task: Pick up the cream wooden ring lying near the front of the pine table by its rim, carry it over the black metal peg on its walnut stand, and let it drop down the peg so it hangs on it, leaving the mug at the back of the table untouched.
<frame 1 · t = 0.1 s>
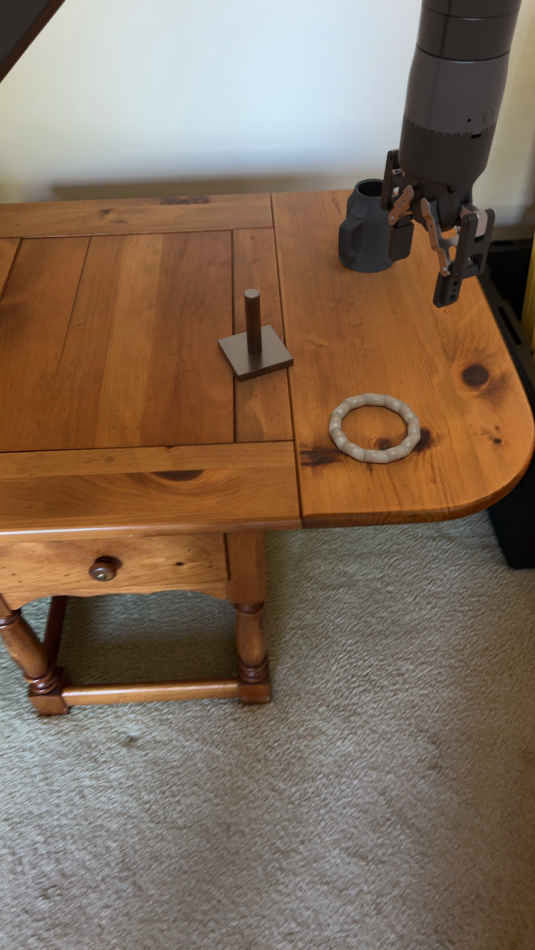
hand: (420, 280, 66), 21 cm above the table, tool pointing down, fingers open, 8 cm apart
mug: (361, 261, 104), on the table
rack: (255, 355, 90), on the table
ring: (374, 426, 80), point 1 cm above the table
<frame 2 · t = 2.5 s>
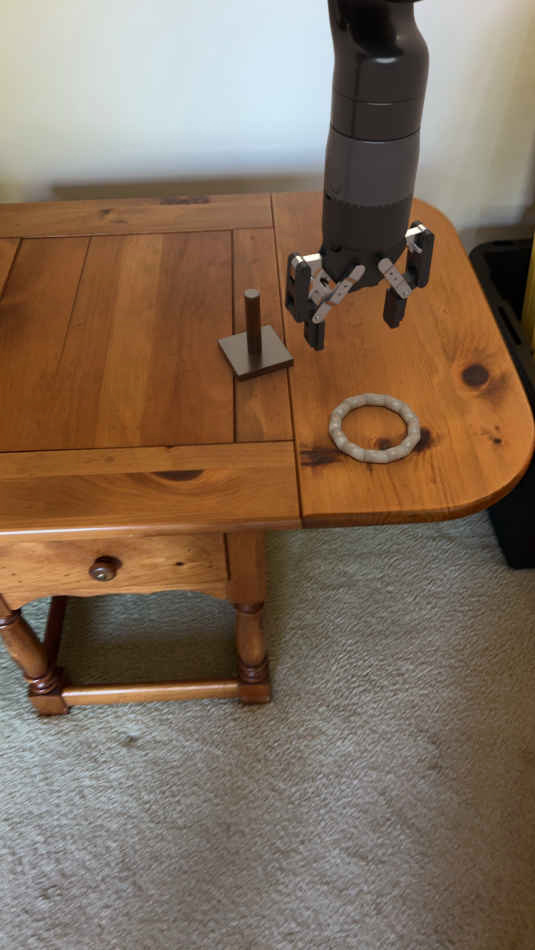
hand: (353, 334, 67), 17 cm above the table, tool pointing down, fingers open, 8 cm apart
nothing on the table moved.
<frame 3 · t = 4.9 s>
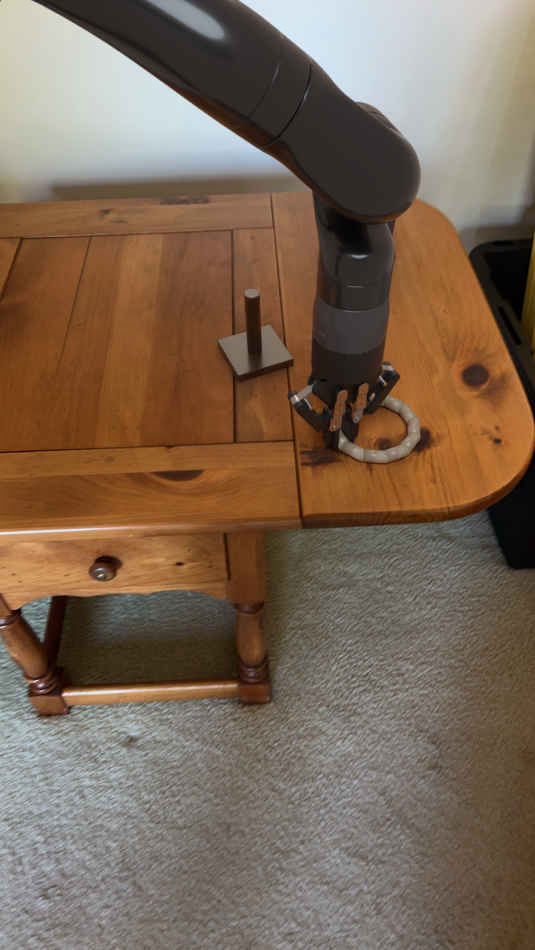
hand: (339, 441, 80), 0 cm above the table, tool pointing down, fingers closed on ring, 1 cm apart
ring: (374, 426, 80), point 1 cm above the table, touching gripper
everything else where it was.
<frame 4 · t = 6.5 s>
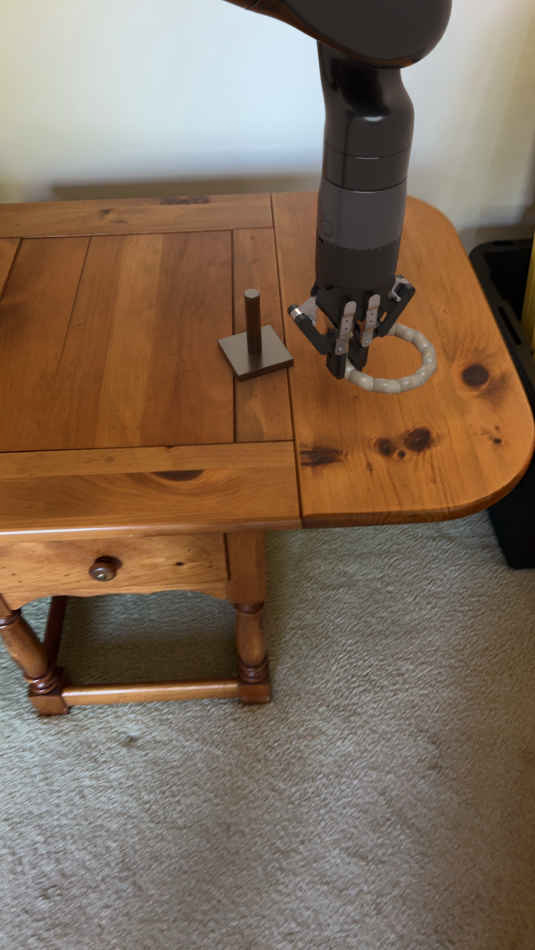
hand: (345, 371, 71), 12 cm above the table, tool pointing down, fingers closed on ring, 1 cm apart
ring: (384, 356, 72), point 12 cm above the table, touching gripper
everything else where it was.
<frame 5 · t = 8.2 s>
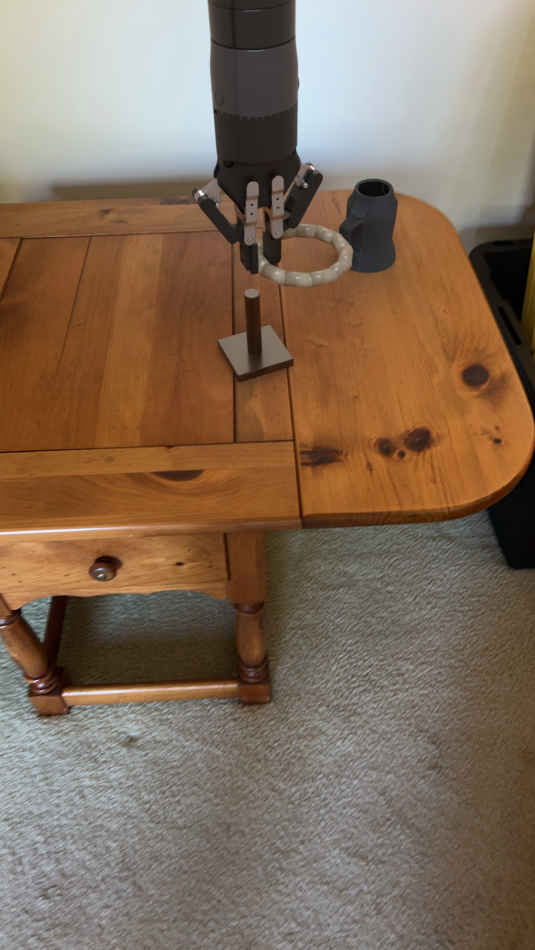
hand: (260, 267, 71), 19 cm above the table, tool pointing down, fingers closed on ring, 1 cm apart
ring: (301, 254, 72), point 19 cm above the table, touching gripper
everything else where it was.
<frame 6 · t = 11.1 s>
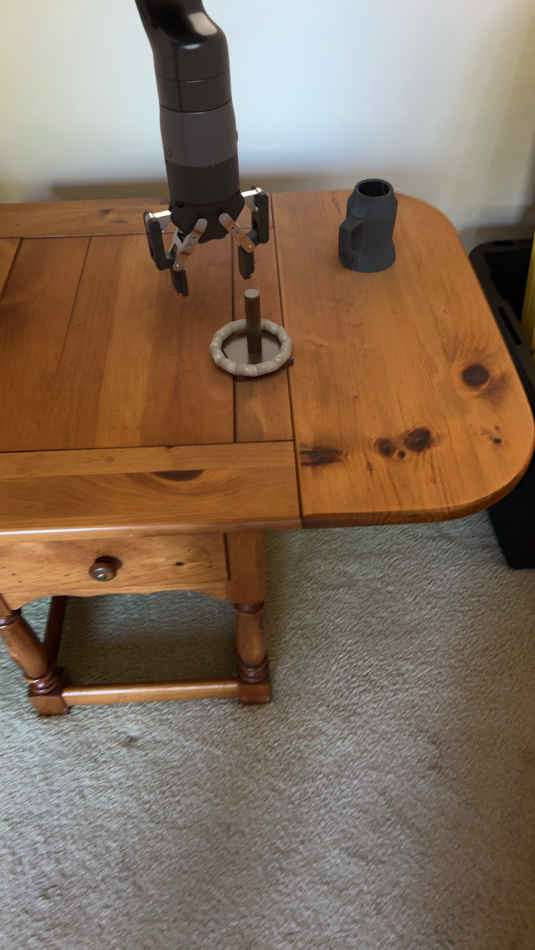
hand: (214, 284, 79), 13 cm above the table, tool pointing down, fingers open, 7 cm apart
ring: (251, 346, 89), point 2 cm above the table, touching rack
everything else where it was.
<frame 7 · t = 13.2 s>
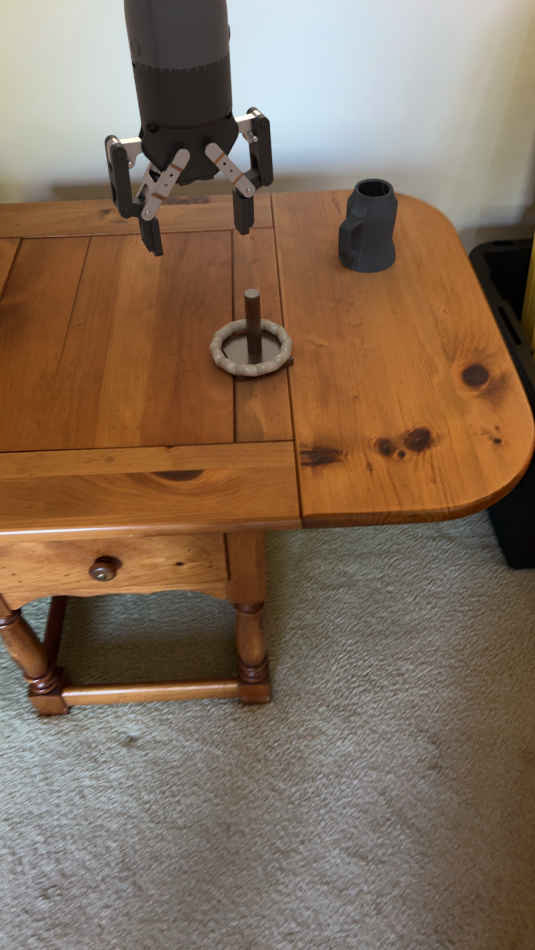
hand: (199, 241, 62), 26 cm above the table, tool pointing down, fingers open, 8 cm apart
nothing on the table moved.
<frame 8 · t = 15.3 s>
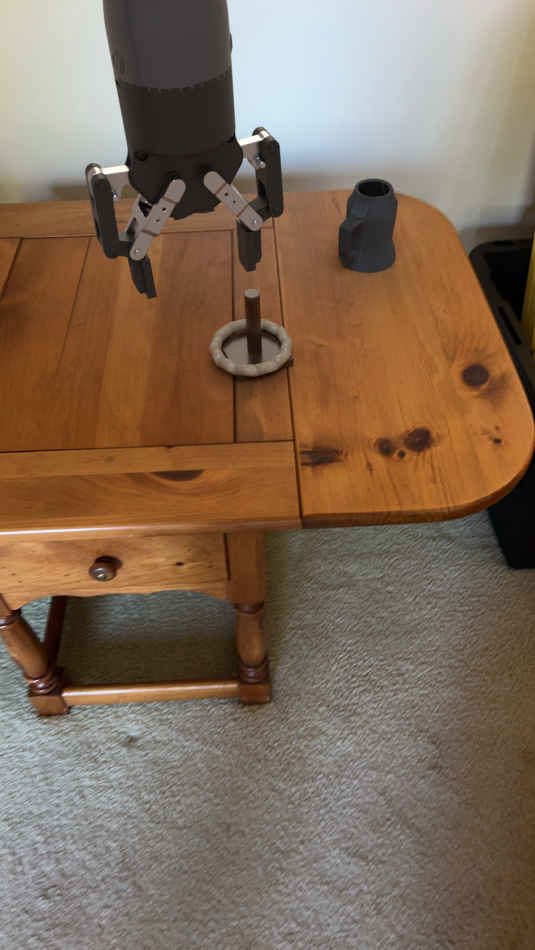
hand: (199, 279, 54), 28 cm above the table, tool pointing down, fingers open, 8 cm apart
nothing on the table moved.
at the end: ring 0.5 cm from the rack (horizontally); ring point 1.9 cm above the table; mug moved 0.2 cm from its start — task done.
